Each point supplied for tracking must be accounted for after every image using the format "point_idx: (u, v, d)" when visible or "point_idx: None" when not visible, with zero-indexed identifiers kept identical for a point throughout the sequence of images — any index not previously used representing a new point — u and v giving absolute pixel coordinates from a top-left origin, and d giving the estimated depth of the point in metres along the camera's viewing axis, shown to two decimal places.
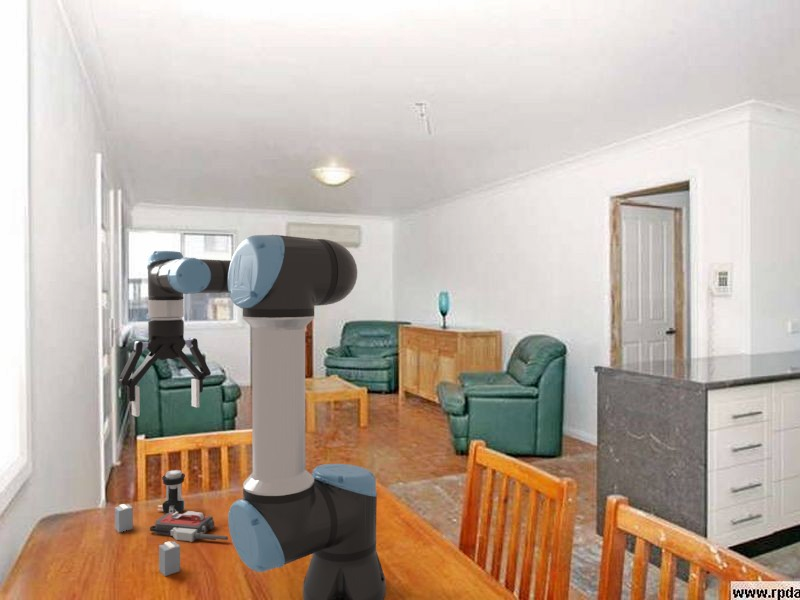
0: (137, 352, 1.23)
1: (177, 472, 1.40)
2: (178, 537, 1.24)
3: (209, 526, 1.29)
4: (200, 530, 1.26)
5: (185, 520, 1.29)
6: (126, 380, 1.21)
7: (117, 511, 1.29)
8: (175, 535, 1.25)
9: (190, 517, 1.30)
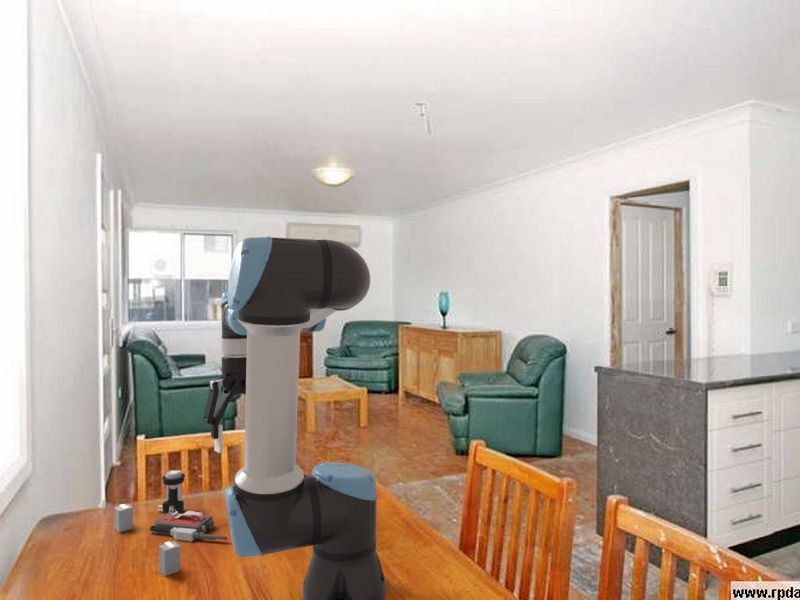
0: (215, 391, 1.30)
1: (177, 472, 1.40)
2: (178, 537, 1.25)
3: (209, 526, 1.29)
4: (200, 530, 1.26)
5: (184, 520, 1.29)
6: (211, 419, 1.29)
7: (117, 511, 1.29)
8: (175, 534, 1.25)
9: (190, 517, 1.30)
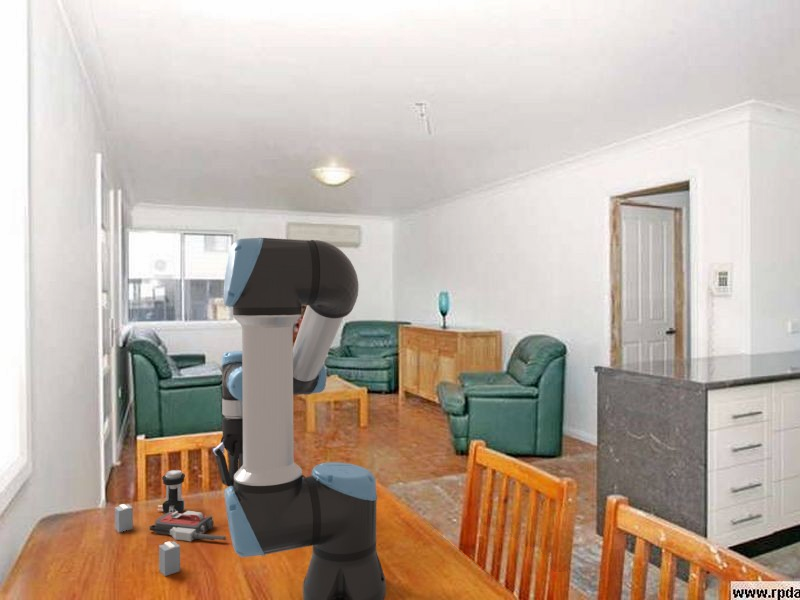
0: (221, 458, 1.31)
1: (177, 472, 1.40)
2: (177, 537, 1.25)
3: (208, 526, 1.29)
4: (199, 530, 1.27)
5: (184, 519, 1.29)
6: (229, 481, 1.33)
7: (117, 511, 1.29)
8: (174, 534, 1.25)
9: (190, 517, 1.30)
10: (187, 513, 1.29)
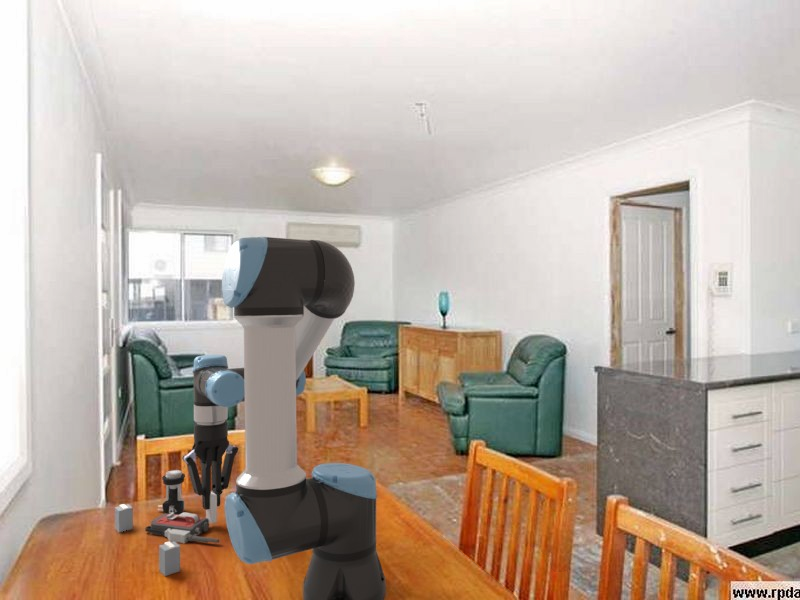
0: (192, 466, 1.27)
1: (177, 472, 1.40)
2: (171, 539, 1.24)
3: (203, 528, 1.28)
4: (193, 532, 1.26)
5: (179, 521, 1.28)
6: (201, 490, 1.28)
7: (117, 511, 1.29)
8: (169, 536, 1.25)
9: (185, 518, 1.30)
10: (182, 515, 1.29)
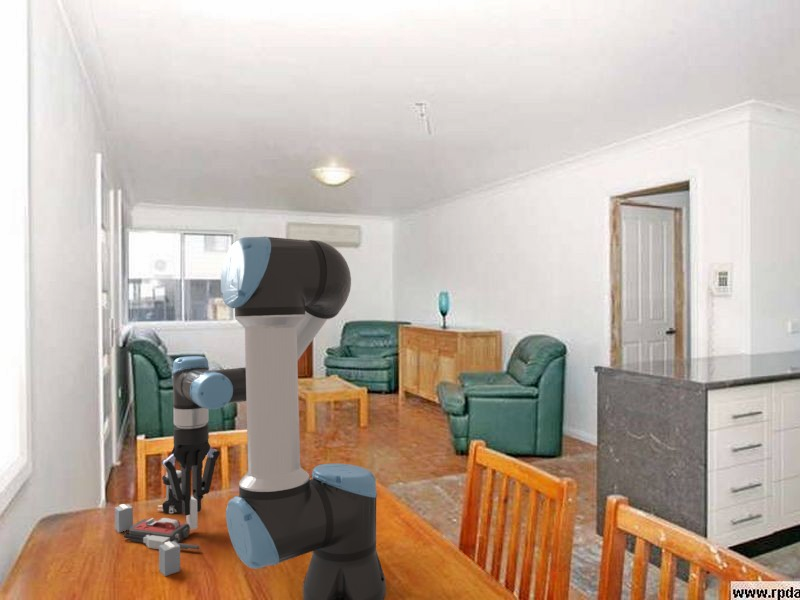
0: (171, 470, 1.23)
1: (177, 472, 1.40)
2: (150, 545, 1.21)
3: (184, 534, 1.25)
4: (173, 538, 1.22)
5: (159, 527, 1.25)
6: (180, 495, 1.25)
7: (117, 511, 1.29)
8: (147, 542, 1.21)
9: (165, 524, 1.26)
10: (162, 520, 1.25)
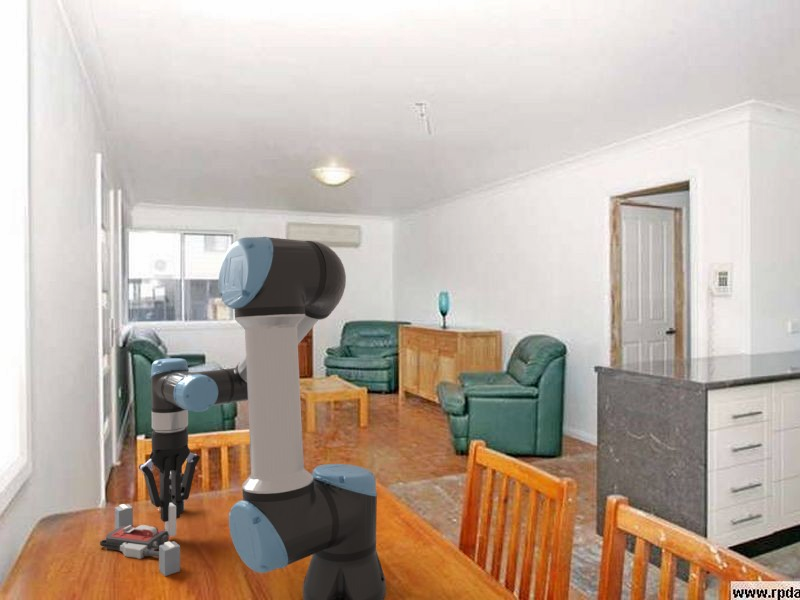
0: (149, 476, 1.20)
1: None
2: (127, 554, 1.17)
3: (162, 542, 1.21)
4: (151, 546, 1.19)
5: (136, 534, 1.21)
6: (158, 501, 1.21)
7: (117, 511, 1.29)
8: (124, 551, 1.18)
9: None
10: (140, 528, 1.22)
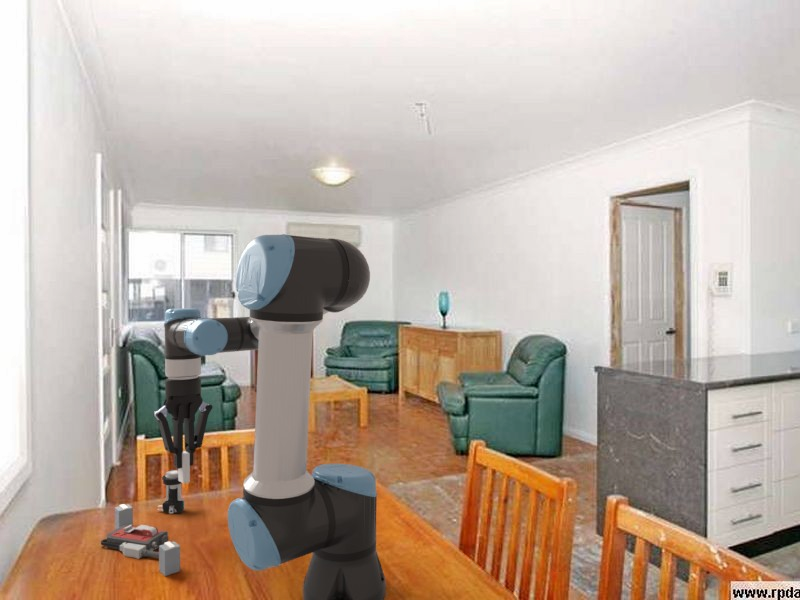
0: (163, 422, 1.21)
1: (177, 472, 1.40)
2: (126, 553, 1.17)
3: (161, 542, 1.21)
4: (150, 546, 1.19)
5: (136, 534, 1.21)
6: (172, 447, 1.23)
7: (117, 511, 1.29)
8: (123, 550, 1.18)
9: None
10: (140, 527, 1.22)
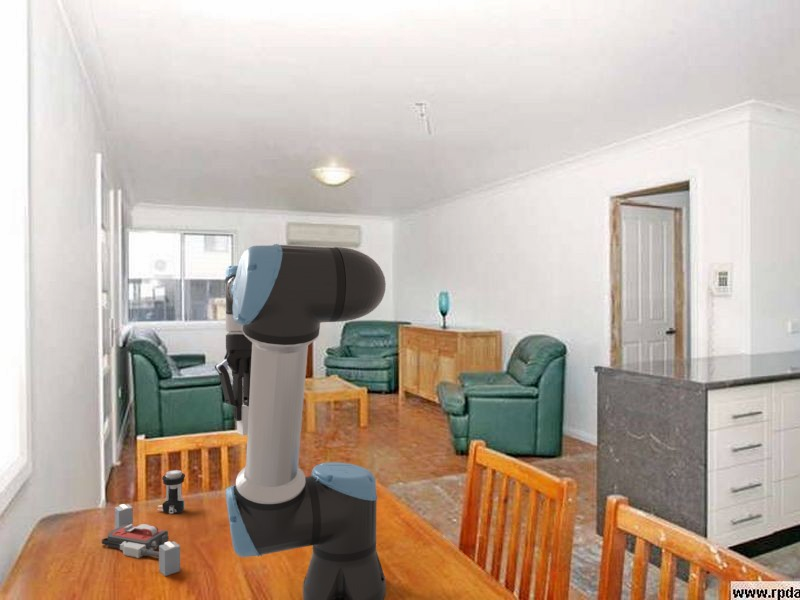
0: (225, 374, 1.25)
1: (177, 472, 1.40)
2: (126, 552, 1.17)
3: (161, 541, 1.21)
4: (149, 546, 1.19)
5: (137, 533, 1.22)
6: (233, 400, 1.27)
7: (117, 511, 1.29)
8: (123, 549, 1.18)
9: None
10: (140, 527, 1.22)
